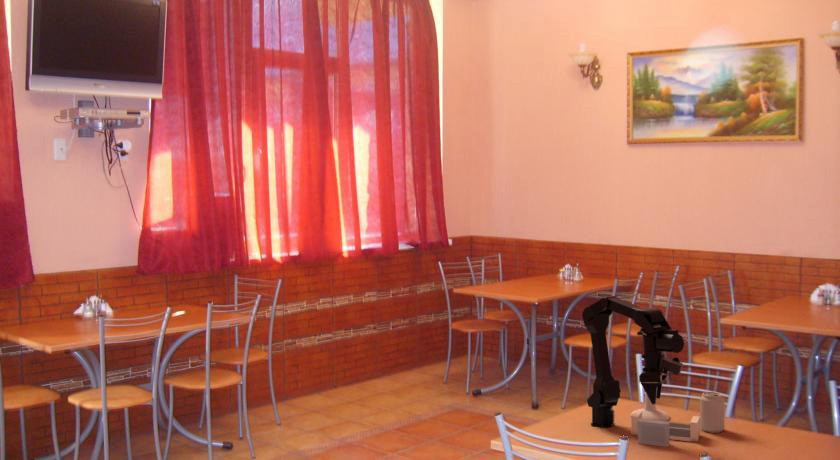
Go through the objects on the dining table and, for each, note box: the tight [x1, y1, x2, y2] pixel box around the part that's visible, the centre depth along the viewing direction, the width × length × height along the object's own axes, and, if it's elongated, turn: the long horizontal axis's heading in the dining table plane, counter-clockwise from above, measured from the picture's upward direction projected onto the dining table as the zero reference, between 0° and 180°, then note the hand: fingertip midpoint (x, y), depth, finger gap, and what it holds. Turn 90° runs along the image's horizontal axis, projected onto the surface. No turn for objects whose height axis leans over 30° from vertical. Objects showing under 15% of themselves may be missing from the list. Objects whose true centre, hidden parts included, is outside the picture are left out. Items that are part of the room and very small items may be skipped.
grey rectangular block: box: [637, 419, 671, 448], centre depth 256 cm, size 9×3×7 cm, turn 65°
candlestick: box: [630, 393, 670, 422], centre depth 284 cm, size 13×13×30 cm
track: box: [630, 409, 701, 443], centre depth 264 cm, size 20×8×6 cm, turn 65°
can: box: [699, 391, 726, 434], centre depth 269 cm, size 8×8×12 cm
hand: (656, 401), depth 255 cm, fingers open, 9 cm apart
